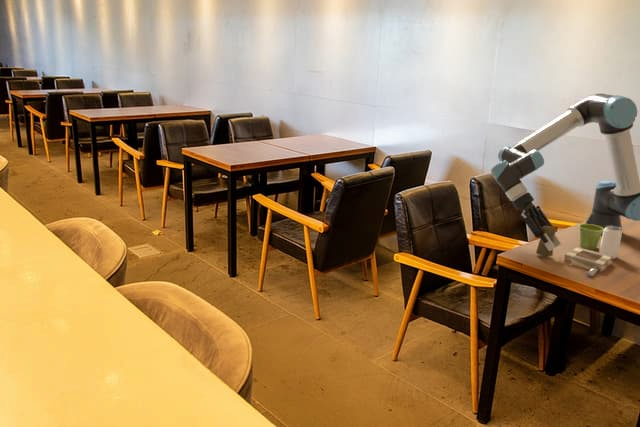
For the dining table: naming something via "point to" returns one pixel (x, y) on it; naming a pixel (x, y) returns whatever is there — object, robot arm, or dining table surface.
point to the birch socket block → (588, 259)
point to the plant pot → (590, 235)
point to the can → (610, 241)
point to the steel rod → (592, 271)
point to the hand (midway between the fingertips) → (555, 247)
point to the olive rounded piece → (541, 246)
